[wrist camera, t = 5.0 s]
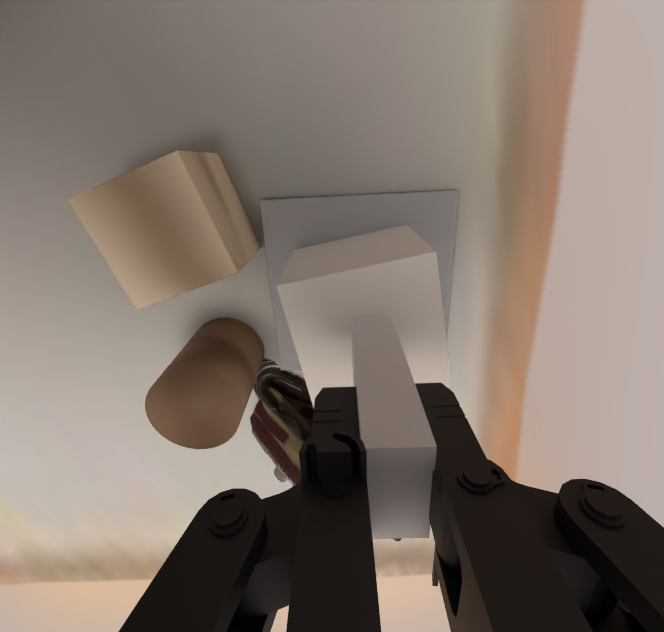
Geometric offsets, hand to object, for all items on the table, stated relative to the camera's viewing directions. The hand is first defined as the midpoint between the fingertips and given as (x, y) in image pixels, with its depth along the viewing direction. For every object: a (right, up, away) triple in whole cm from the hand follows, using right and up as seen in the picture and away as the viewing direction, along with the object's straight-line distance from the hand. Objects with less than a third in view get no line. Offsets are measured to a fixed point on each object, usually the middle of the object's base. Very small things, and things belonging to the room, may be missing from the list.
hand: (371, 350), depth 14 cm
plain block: (0, +3, +6) cm, 7 cm away
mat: (0, +3, +7) cm, 7 cm away
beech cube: (-9, +6, +5) cm, 12 cm away
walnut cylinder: (-8, -1, +9) cm, 12 cm away
